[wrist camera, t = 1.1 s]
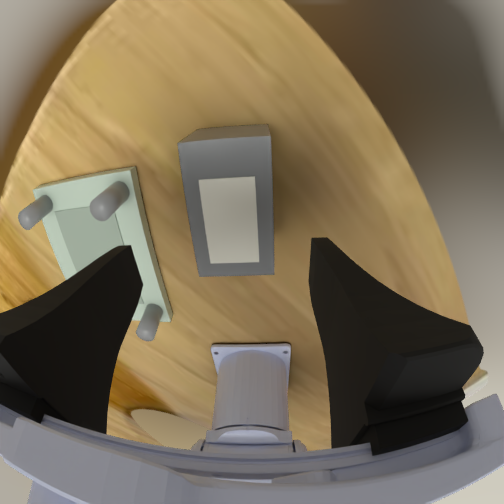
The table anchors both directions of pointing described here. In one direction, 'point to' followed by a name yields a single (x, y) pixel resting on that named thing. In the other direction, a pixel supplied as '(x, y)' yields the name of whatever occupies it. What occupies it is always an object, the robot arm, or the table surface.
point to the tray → (102, 232)
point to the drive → (230, 199)
